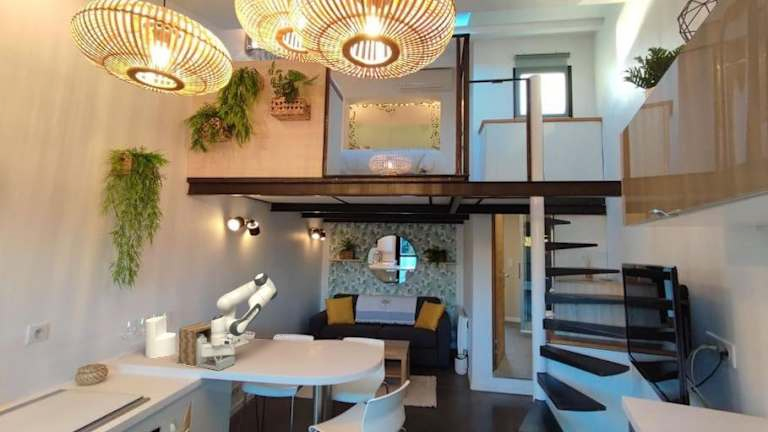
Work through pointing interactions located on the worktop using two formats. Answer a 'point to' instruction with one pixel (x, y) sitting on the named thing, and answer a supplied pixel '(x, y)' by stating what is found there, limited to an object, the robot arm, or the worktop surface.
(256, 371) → the worktop surface
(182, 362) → the shelf cubby
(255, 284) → the robot arm
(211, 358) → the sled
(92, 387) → the worktop surface
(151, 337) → the white stepped block
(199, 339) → the milk carton
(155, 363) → the worktop surface
